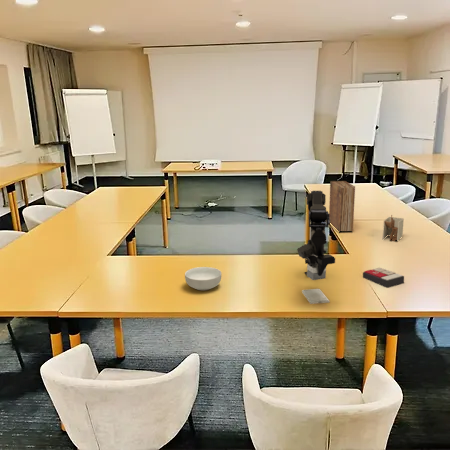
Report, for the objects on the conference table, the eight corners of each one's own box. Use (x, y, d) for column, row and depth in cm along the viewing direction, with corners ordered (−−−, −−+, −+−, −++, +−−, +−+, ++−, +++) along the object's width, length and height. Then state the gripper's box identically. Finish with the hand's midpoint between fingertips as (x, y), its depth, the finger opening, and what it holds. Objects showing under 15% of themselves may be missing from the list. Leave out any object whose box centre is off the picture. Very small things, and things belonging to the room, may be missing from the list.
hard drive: (301, 289, 197) (310, 301, 185) (319, 288, 198) (329, 299, 186) (301, 293, 197) (310, 305, 185) (319, 291, 198) (329, 303, 186)
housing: (319, 274, 192) (319, 261, 190) (325, 278, 187) (326, 265, 186) (307, 276, 190) (307, 263, 188) (313, 280, 185) (313, 267, 184)
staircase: (382, 240, 269) (384, 214, 265) (387, 236, 278) (389, 210, 273) (397, 243, 264) (399, 215, 260) (402, 238, 273) (404, 212, 268)
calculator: (379, 266, 216) (404, 274, 203) (379, 274, 217) (404, 283, 204) (362, 270, 211) (387, 279, 198) (362, 279, 212) (387, 288, 199)
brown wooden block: (353, 232, 286) (355, 186, 278) (338, 233, 286) (340, 187, 278) (341, 222, 310) (343, 180, 303) (328, 223, 310) (330, 180, 302)
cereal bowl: (209, 297, 194) (209, 282, 192) (178, 290, 202) (177, 276, 200) (228, 283, 208) (228, 269, 206) (198, 278, 216) (197, 264, 214)
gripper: (289, 234, 190) (289, 269, 194) (312, 247, 173) (311, 284, 177) (312, 231, 193) (311, 265, 198) (336, 243, 176) (335, 280, 181)
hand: (316, 273), depth 188 cm, fingers closed on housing, 5 cm apart
